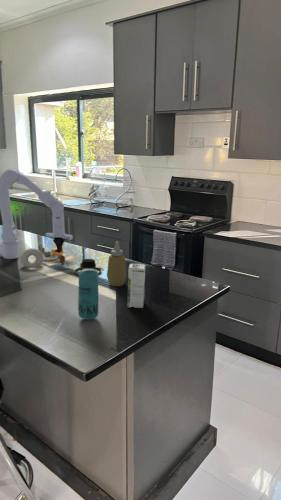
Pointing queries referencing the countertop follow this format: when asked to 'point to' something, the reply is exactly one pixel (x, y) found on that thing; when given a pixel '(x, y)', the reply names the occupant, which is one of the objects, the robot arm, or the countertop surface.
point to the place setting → (62, 260)
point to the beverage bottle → (88, 290)
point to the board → (57, 261)
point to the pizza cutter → (51, 255)
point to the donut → (31, 252)
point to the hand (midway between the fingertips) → (59, 252)
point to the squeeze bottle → (116, 267)
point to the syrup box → (136, 285)
